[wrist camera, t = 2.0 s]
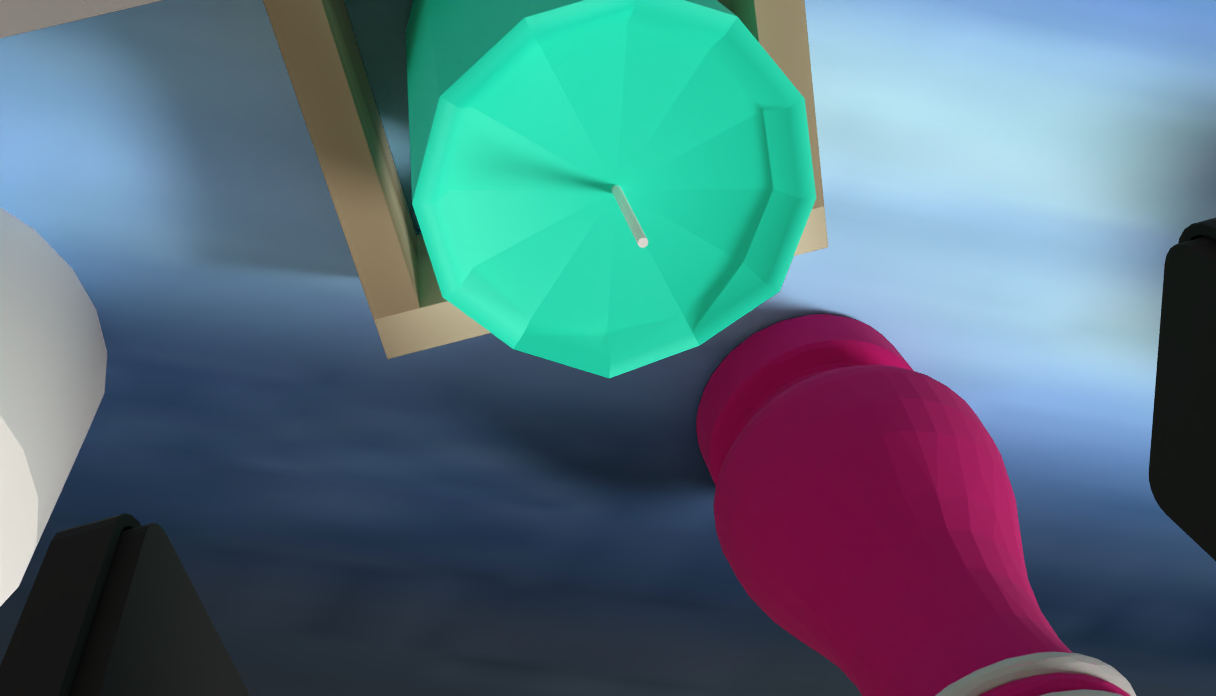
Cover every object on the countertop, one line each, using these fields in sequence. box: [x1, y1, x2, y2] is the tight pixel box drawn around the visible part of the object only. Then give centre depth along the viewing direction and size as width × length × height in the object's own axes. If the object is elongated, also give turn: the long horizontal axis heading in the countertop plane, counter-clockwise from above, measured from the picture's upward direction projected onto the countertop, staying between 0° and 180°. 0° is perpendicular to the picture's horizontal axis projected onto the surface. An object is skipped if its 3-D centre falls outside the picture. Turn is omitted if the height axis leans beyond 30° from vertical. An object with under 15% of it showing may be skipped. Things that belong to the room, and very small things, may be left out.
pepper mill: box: [696, 314, 1136, 696], centre depth 22 cm, size 7×7×20 cm
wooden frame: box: [263, 0, 828, 359], centre depth 23 cm, size 10×10×4 cm
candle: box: [406, 0, 816, 378], centre depth 20 cm, size 6×6×12 cm
